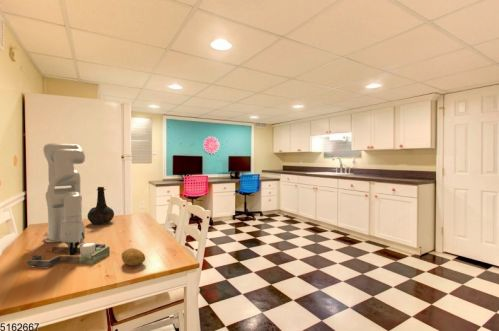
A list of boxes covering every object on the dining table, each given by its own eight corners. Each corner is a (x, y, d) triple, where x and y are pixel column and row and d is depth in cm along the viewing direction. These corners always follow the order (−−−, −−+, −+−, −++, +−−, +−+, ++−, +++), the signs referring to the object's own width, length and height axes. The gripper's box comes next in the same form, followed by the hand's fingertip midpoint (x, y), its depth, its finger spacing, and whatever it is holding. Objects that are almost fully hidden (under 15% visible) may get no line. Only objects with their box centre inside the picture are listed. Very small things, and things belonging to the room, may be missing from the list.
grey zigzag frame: (19, 266, 121) (19, 258, 121) (61, 248, 145) (61, 241, 145) (84, 269, 118) (84, 260, 118) (116, 249, 143) (116, 242, 142)
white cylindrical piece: (84, 255, 134) (83, 242, 134) (98, 255, 135) (98, 241, 135) (77, 261, 127) (76, 247, 127) (92, 260, 128) (91, 246, 128)
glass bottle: (98, 220, 209) (98, 185, 208) (119, 220, 207) (118, 185, 206) (81, 225, 191) (80, 188, 190) (103, 226, 189) (103, 188, 188)
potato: (126, 271, 116) (126, 256, 116) (118, 262, 126) (118, 248, 125) (147, 265, 122) (147, 251, 122) (138, 257, 132) (138, 244, 131)
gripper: (52, 220, 128) (53, 256, 129) (81, 221, 127) (82, 258, 128) (64, 216, 135) (65, 251, 136) (92, 217, 134) (92, 252, 135)
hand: (73, 254), depth 132 cm, fingers closed
